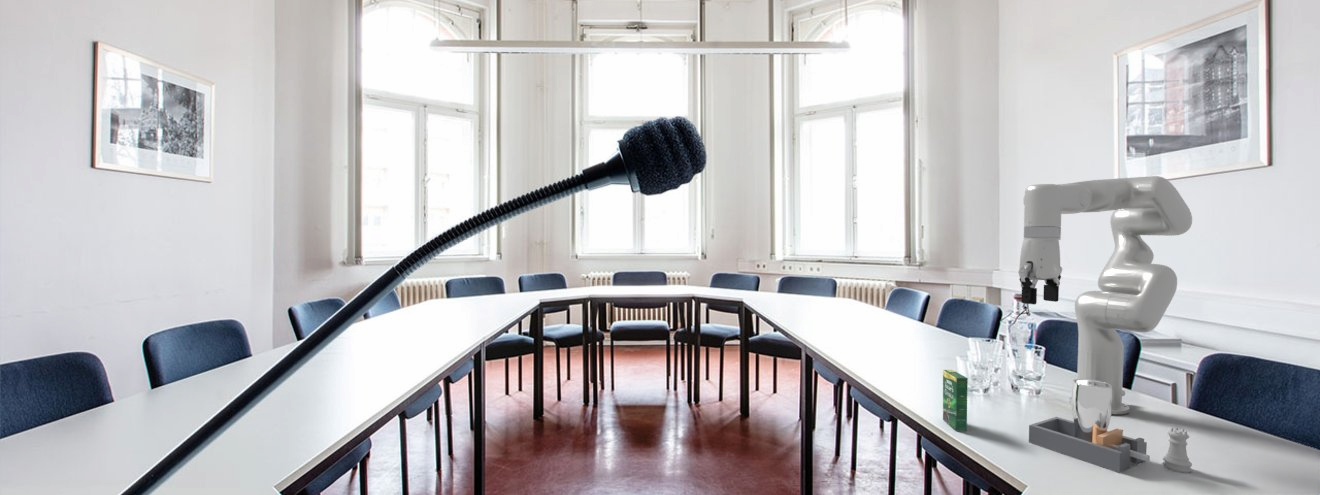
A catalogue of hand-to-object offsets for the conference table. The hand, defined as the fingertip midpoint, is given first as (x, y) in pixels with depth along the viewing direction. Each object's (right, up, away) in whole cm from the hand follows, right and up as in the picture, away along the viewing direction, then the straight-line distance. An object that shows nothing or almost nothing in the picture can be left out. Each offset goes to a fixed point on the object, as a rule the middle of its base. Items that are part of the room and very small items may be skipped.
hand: (1040, 302), depth 134 cm
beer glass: (-1, -31, -17) cm, 35 cm away
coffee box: (-22, -31, -1) cm, 38 cm away
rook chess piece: (+10, -32, -25) cm, 42 cm away
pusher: (+2, -31, -23) cm, 38 cm away
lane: (-2, -31, -17) cm, 35 cm away
